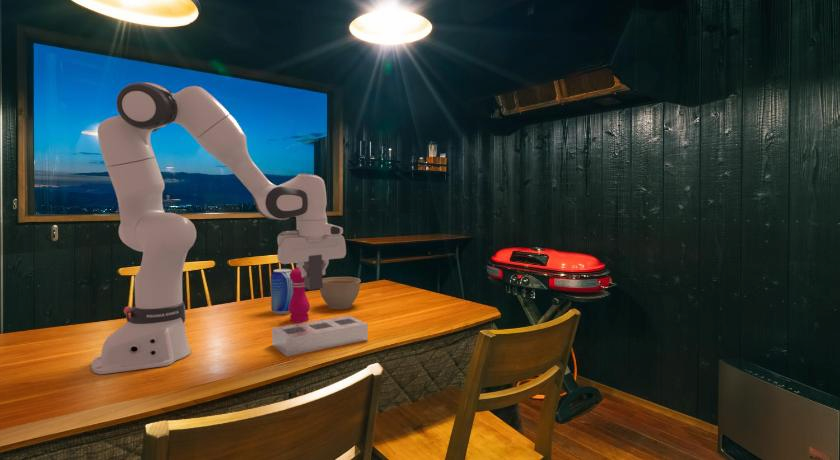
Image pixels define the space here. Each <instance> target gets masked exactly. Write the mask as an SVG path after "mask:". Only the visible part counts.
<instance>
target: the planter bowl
mask: <svg viewBox="0 0 840 460" xmlns="http://www.w3.org/2000/svg"><path fill="white" fill-rule="evenodd" d="M322 282H323V288H320V289H319V291H320V294H321V298H322V300H323V301H324V303H325V304H326V306H327V308H328V309H330V310H348V309H350V308H352V307H353V303H354V302H355V301H356V300H357V297H358V295H359V292H360V287H361V282H362V281H361V278H359V277H358V278H357V277H352V276H334V277H333V276H331V277H324V278H322Z"/></svg>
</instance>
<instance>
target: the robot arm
mask: <svg viewBox="0 0 840 460" xmlns="http://www.w3.org/2000/svg"><path fill="white" fill-rule="evenodd" d="M115 105H116V110H117V113H118V114H119V115H117V116H112V117H109V118H106V119H105V120H103V121H102V122H100V123H99V125H98V126H97V136H98V137H97V138H98V143H99V148H100V152H101V156H102V159H103V162H104V164H105V168H106V169H107V173H108V175H109V179H110V181H111V183H112V186H113V189H114V192H115V195H116V198H117V203H118V205H117V206H118V210H119V211H118V212H119V213H118V214H119V219H120V224H119V227H118V237H119V238H120V240H121V242H122V243H123V244H125V246H127V247H129V248H131V249H132V250H134V251H137V252H142V258H141V263H140V266H139V269H138V272H137V273H136V274H135V276H134V304H135V306H133V307H131V306H125V307H124V308H123V313H124V315H125V316H126V322H125V323H124V324H123V325H121V326H120V327H119V328H118V329H116V330H114V331H113V333H111V334H110V335H109V336H108V337H107V338H106V339H105V340H104V342H103V345H102V349H101V354H99V355H98V356H96V357H95V358H94V359H93V360H92V361H91V371H92V372H93V373H95V374H98V375H106V374H115V373H120V372H130V371H137V370H144V369H151V368H152V369H153V368H160V367H166V366H170V365H172V364H173V363H174V362H176V361H178V360H181V359H183V358H185V357H187V356H188V355H190V354H191V352H192V350H191V347H190V345H189V341H188V337H187V333H186V327H185V322H186V306H185V305H186V304H185V302H184V300H183V272H184V266H185V263H186V258H187V255H188V252H189V250H190V249H191V248H192V247H193V246H194V244H195V242H196V239H197V229H196V227H195V224H194V223H193V222H192V221H191V220H190V219H189V218H187V217H185V216H182V215H180V214H178V213H175V212H166V211H165V209H164V205H163V192H164V190H165V182H164V179H163V175H162V173H161V170H160V166H159V164H158V161H157V158H156V156H155V152H154V150H153V149H154V148H153V147H152V143H151V134H152V133H155V132H156V131H158V130H161V128H164V127H166V126H168V125H170V124H171V123H174V124H178V125H180V126H181V127H182V128H184V129H185V130H186V131H187V132H188V133H189V134H190V135H191V136H192V138H193V139H194V140H196V142H197V143H198V144H199V145H200V147H202V148H204V150H205V151H206V152H207V153H209V154H210V155H211V156H212V157H214V158H215V159H216V160H217V161H219V163H221V164H223V166H225V167H226V168H227V169H228V170H229V171H231V173H233V174H234V175H235V177H236V178H237V179H238V180H239V182H241V184H242V185H243V186H244V187H245V188H246V189H247V191H248V192H249V193H250V195H251V196H252V198H253V201H254V204H255V207H256V209H257V211H258V213H259V214H261V216H263V217H264V218H266V219H268V220H281V221H283V220H288V219H290V218H296V222H295V223H296V230H295V229H294V230H285V231H284V230H283V231H281V232H280V233H278V235H277V237H276V238H277V239H276V240H277V247H278V249H277V261H278V262H279V263H280V264H283V265H287V264H296V265H297V266H298V268H299V269H300V271H301V276H302V277H308V271H306V270H304V262H308V261H309V256H313V255H322V276H325V275H326V269H327V268H328V266H329V264H330V263H329V261H330V260H335V259H344V258H345V257H346V255H347V246H346V240H345V237H344V236H343V235H342V234H343V233H344V229H343V227H342V226H339V225H335V224H331V223H328V217H327V212H326V209H327V204H328V203H327V190H326V184H325V180H324V179H323V178H322V177H320V176H319V175H316V174H311V173H299V174H297V175H296V176H295V177H293V178H291V179H290V180H288V181H285V182H283V183H281V184H279V185H276V184H274V183H272V182H271V181H270V180H269V179H268V178H267V177H266V175H265V174H263V172H262V171H261V170H260V168H259V167H258V166H257V165H256V164H255V162H254V161H253V160H252V158H251V156H250V154H249V151H248V143H247V136H246V134H245V133H244V131H243V129H242V127H241V126H240V125H239V123H238V122H237V120H236V119H235V117H233V116H232V114H230V112H229V111H228V110H227V109H226V108H225V106H224V105H222V103H221V102H219V101H218V100H217V99H216V98H215V97H214V96H213V95H212V94H211V93H209V92H208V91H207V90H206V89H204V88H203V87H201V86H197V85H191V86H186V87H184V88H183V89H181V90H180V91H178V92H175V93H173V92H172V91H170V89H168V88H166V87H165V86H162V85H159V84H157V83H153V82H134V83H130V84H128V85H126V86H124V87H123V88H122V89H121V90H120V91H119V92H118V94H117V96H116V103H115Z"/></svg>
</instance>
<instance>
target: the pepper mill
mask: <svg viewBox="0 0 840 460" xmlns="http://www.w3.org/2000/svg"><path fill="white" fill-rule="evenodd" d="M295 267H296V268H294V269H291V270H292V271H291V273H290V279H291V280H292V287H293V295H292V298H291V301H290V303H289V311H290V313H289V314H290V316H289V321H290V322H292V323H305V322H306V321H308V320H309V319H310V317H309V314H308V313H309V311H310V309H311V307H310V305H311V304H310V301H309V300H308V298H307V295H306V288H305V283H304V277H302V276H301V271H300V269H299V268H298V266H297V264H296V266H295Z"/></svg>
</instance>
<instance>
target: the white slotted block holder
mask: <svg viewBox="0 0 840 460" xmlns="http://www.w3.org/2000/svg"><path fill="white" fill-rule="evenodd" d="M368 326H369V325H368V323H367V322H365V321H362V320H360V319H358V318H356V317H353V316H352V315H345V316H344V315H343V316H340V317H339V316H338V317H331V318H326V319H320V320H313V321H309V322H300V323H296V324H289V325H282V326H278V327H277V326H276V327H272V328H271V339H272V340H271V341H272V342H271V343H272V346H273V347H274V348H275V349H276V350H278V351H279V352H280V353H281V354H283V355H284V356H285V357H291V356H292V357H293V356H296V355H302V354H306V353H307V354H308V353H311V352H315V351H320V350H321V351H322V350H325V349H330V348H337V347H340V346H345V345H349V344H350V345H352V344H355V343H356V344H357V343H359V342H365V341H368V338H369V337H368V335H369V333H368V332H369V330H368V329H369V327H368Z"/></svg>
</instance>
